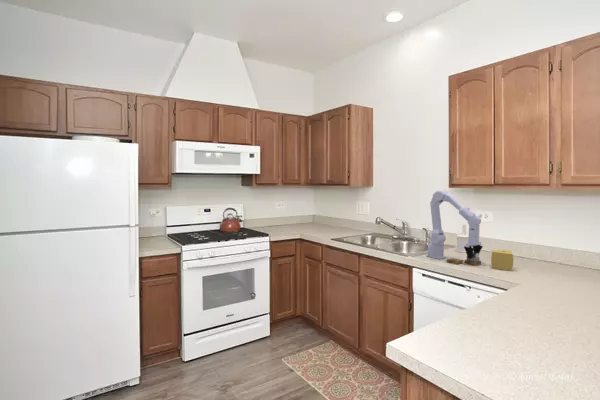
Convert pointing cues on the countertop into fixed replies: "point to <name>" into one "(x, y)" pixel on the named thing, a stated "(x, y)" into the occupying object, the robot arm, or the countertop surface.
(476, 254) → the block
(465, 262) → the stand
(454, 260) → the stand
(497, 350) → the countertop surface
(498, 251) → the cheese
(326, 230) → the countertop surface
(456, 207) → the robot arm
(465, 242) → the white bottle
